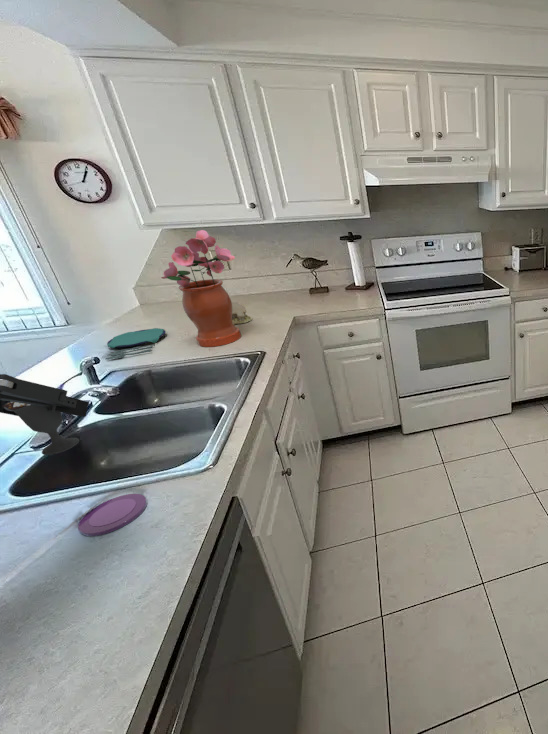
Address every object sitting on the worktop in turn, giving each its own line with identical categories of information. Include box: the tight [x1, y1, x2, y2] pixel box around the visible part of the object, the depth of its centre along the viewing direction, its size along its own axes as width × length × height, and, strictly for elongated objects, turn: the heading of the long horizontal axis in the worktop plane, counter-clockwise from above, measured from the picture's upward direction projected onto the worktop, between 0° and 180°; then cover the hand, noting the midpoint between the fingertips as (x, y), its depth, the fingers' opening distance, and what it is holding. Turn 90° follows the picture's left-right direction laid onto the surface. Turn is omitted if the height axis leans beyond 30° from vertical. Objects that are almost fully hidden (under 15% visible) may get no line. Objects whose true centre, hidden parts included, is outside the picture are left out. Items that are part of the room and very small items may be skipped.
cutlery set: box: [104, 327, 166, 360], centre depth 173 cm, size 20×30×2 cm, turn 28°
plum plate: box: [77, 493, 148, 537], centre depth 87 cm, size 11×11×1 cm
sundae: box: [3, 402, 80, 456], centre depth 71 cm, size 7×7×15 cm
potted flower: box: [160, 229, 242, 348], centre depth 166 cm, size 19×25×45 cm
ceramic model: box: [232, 301, 253, 325], centre depth 194 cm, size 14×11×10 cm
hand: (62, 410), depth 75 cm, fingers closed on sundae, 7 cm apart
